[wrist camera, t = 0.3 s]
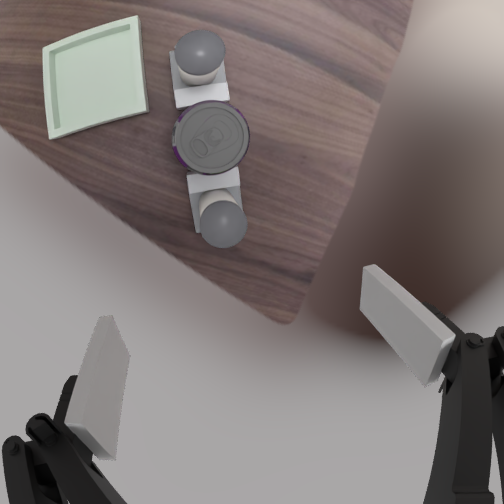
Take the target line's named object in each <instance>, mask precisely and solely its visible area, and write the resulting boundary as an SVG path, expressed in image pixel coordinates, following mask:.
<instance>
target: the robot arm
mask: <svg viewBox="0 0 504 504" xmlns="http://www.w3.org/2000/svg"><path fill="white" fill-rule="evenodd" d="M360 310H361V311H362V312H363V314H364V315H365V316H366V317H367V318H368V319H369V321H370V322H371V323H372V324H373V325H374V326H375V328H376V329H377V330H378V331H379V332H380V333H381V335H382V336H383V337H384V338H385V339H386V341H387V342H388V343H389V344H390V345H391V346H392V348H393V349H394V350H395V351H396V352H397V354H398V355H399V356H400V357H401V359H402V360H403V361H404V362H405V364H406V365H407V366H408V367H409V368H410V370H411V371H412V372H413V373H414V375H415V376H416V377H417V378H418V379H419V381H420V382H421V383H422V385H423V386H424V387H427V386H429V385H431V384H432V383H435V382H436V381H437V380H438V378H439V376H440V374H441V372H442V373H443V374H444V375H445V378H444V381H443V382H442V385H441V387H440V389H439V393H440V392H441V390H442V389H443V395H442V407H441V415H440V424H439V432H438V438H437V444H436V450H435V456H434V461H433V466H432V471H431V475H430V480H429V483H428V487H427V491H426V495H425V499H424V502H423V504H494V498H495V497H494V494H493V493H492V492H490V491H489V489H488V485H489V477H490V467H491V454H492V432H493V437H494V441H495V447H496V452H497V457H498V464H499V471H500V479H501V488H502V499H503V504H504V374H503V372H502V371H503V369H504V326H502V327H499V328H498V329H497V330H496V332H495V335H494V336H493V337H489V338H484V339H483V338H482V337H481V336H480V335H478V334H475V333H466V334H465V333H464V332H463V331H462V330H460V329H459V328H458V327H457V326H456V325H455V324H454V323H453V322H452V321H450V320H449V319H448V318H446V316H445V315H443V313H441V312H440V311H439V310H438V309H437V308H436V307H434V306H433V305H431V304H429V303H427V302H423V303H420V302H419V301H418V300H417V299H416V298H414V297H413V296H412V295H411V294H410V293H409V292H407V291H406V290H405V289H404V288H403V287H402V286H400V285H399V284H398V283H397V282H396V281H395V280H393V279H392V278H391V277H390V276H389V275H387V274H386V273H385V272H384V271H383V270H381V269H380V268H379V267H378V266H377V265H375V264H374V265H370V266H366V267H363V278H362V290H361V301H360ZM129 359H130V354H129V352H128V350H127V348H126V345H125V343H124V341H123V339H122V337H121V334H120V332H119V330H118V328H117V325H116V323H115V320H114V318H113V316H112V315H111V316H104V317H99V319H98V322H97V324H96V327H95V329H94V332H93V335H92V337H91V340H90V343H89V345H88V348H87V351H86V353H85V356H84V359H83V363H82V365H81V368H80V371H79V374H78V375H73V376H70V378H69V379H68V380H67V381H66V383H65V384H64V387H63V390H62V394H61V397H60V399H59V400H60V401H59V403H58V406H57V409H56V412H55V415H54V419H53V420H52V419H51V418H50V417H49V415H47V414H45V413H39V414H36V415H34V416H33V417H32V418H30V419H29V421H28V423H27V425H26V434H27V435H28V436H29V437H30V438H31V439H32V440H33V441H28V442H24V441H23V440H22V439H21V438H20V437H19V436H11V437H9V438H7V439H6V441H5V442H4V444H3V446H2V455H3V466H4V474H5V481H6V487H7V493H8V498H9V503H10V504H68V501H69V503H70V504H127V503H126V502H125V501H124V500H123V498H122V497H121V496H120V495H119V494H118V493H117V491H116V490H115V489H114V488H113V486H112V485H111V484H110V483H109V481H108V480H107V479H106V478H105V476H104V475H103V474H102V472H101V471H100V470H99V469H98V467H97V466H96V464H95V463H94V462H93V461H92V455H93V454H94V455H95V456H96V457H97V458H98V459H99V460H116V450H117V441H118V432H119V423H120V415H121V409H122V401H123V395H124V389H125V382H126V377H127V371H128V365H129ZM67 500H68V501H67Z"/></svg>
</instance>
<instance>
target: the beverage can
mask: <svg viewBox="0 0 504 504" xmlns="http://www.w3.org/2000/svg"><path fill="white" fill-rule="evenodd" d="M249 142H250V131H249V127H248V124H247V121H246V119H245V118H244V116H243V115H242V114H241V112H240V111H239V110H238V109H236V108H235V107H234V106H232V105H230V104H228V103H226V102H223V101H219V100H205V101H201V102H198V103H195V104H193V105H191V106H190V107H188V108H187V109H186V110H185V111H183V112H182V114H181V115H180V116H179V117H178V119H177V121H176V123H175V125H174V128H173V132H172V146H173V150H174V153H175V155H176V157H177V158H178V160H179V161H180V162H181V163H182V165H183V166H185V167H186V168H187V169H189V170H190V171H192V172H194V173H197V174H200V175H206V176H213V175H219V174H223V173H225V172H228V171H230V170H231V169H233V168H234V167H235V166H237V165H238V164H239V163H240V162H241V160H242V159H243V158H244V156H245V154H246V152H247V150H248V147H249Z"/></svg>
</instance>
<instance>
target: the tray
mask: <svg viewBox="0 0 504 504" xmlns="http://www.w3.org/2000/svg"><path fill="white" fill-rule="evenodd" d="M43 82H44V97H45V108H46V118H47V126H48V134H49V140H50V139H58V138H61V137H64V136H67V135H69V134H72V133H75V132H78V131H81V130H85V129H88V128H91V127H94V126H98V125H101V124H104V123H108V122H112V121H115V120H119V119H123V118H127V117H131V116H135V115H139V114H143V113H148V112H149V104H148V96H147V88H146V79H145V69H144V58H143V47H142V33H141V21H140V19H139V17H138V15H136V16H132V17H128V18H125V19H121V20H117V21H114V22H110V23H107V24H104V25H101V26H97V27H94V28H91V29H89V30H86V31H83V32H80V33H77V34H75V35H72V36H70V37H67V38H64V39H62V40H60V41H57V42H55V43H53V44H50V45H48V46H46V47H44V48H43Z"/></svg>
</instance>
